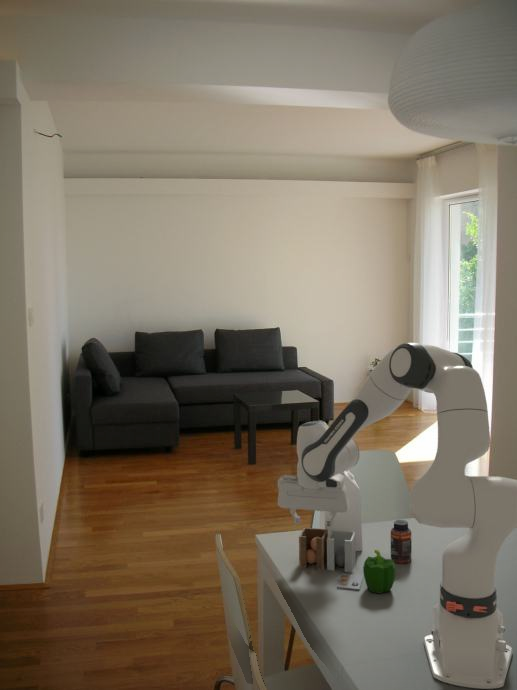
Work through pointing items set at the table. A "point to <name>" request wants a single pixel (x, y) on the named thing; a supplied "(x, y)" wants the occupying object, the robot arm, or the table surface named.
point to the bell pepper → (379, 573)
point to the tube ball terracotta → (311, 556)
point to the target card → (350, 582)
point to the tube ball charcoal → (340, 559)
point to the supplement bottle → (401, 542)
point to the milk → (347, 512)
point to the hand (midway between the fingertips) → (313, 524)
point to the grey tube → (341, 548)
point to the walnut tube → (321, 546)
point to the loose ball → (314, 543)
